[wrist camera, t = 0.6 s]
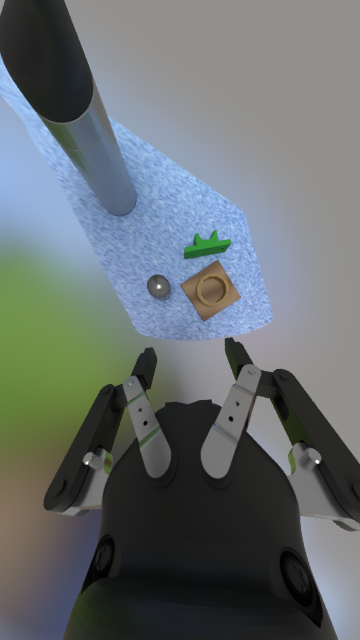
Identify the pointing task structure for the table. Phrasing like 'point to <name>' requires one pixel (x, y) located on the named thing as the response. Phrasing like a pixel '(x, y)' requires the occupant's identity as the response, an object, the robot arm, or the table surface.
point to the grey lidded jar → (159, 287)
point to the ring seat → (210, 290)
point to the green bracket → (206, 246)
